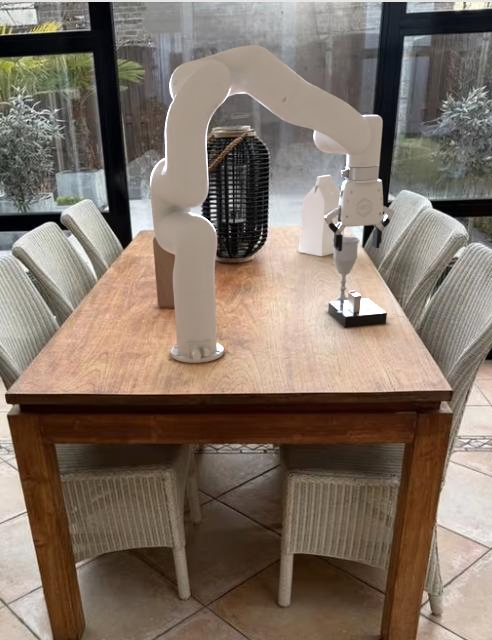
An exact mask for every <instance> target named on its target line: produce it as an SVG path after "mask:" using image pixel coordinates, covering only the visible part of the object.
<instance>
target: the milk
mask: <svg viewBox="0 0 492 640" xmlns="http://www.w3.org/2000/svg"><path fill="white" fill-rule="evenodd" d="M340 193H341V190H340V189H339V188H338V187H337V185H336V184H335V183H334V179H333V176H332V174H325V175H320V176H319V175H318V176H317V177H316V181H315V185H313V187H312V188H311V189H310V191H308V193H306V195H304V197H303V200H302V205H301V207H302V208H301V217H300V218H301V219H300V229H299V240H298V250H297V251H298V253H301V254H308V255H312V256H316V257H317V256H318V257H324V256H329V255H333V254H334V242H333V239H334V233H333V231H332V230H331V229H330V228H329V227H328V225H327V223H326V221H325V218H324V217H325V215H327V214H329V213H330V212H332V211H333V210H335V209H336V208H338V206H339V198H340ZM332 221H333V224H334V225H335V226H336V225H337V223H338V215H337V216H336V217H334V218H333V219H332ZM341 234H342V235H343V237H345V236H344V235H345V229H344V230H343V231H342V232H341Z"/></svg>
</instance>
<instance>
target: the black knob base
mask: <svg viewBox="0 0 492 640" xmlns="http://www.w3.org/2000/svg"><path fill="white" fill-rule="evenodd" d="M347 306H348V300H343V301H335V300H334V301H328V309H327V312H328V314H329V315H330V316H331V317H332V318H333V319H335V320H336V321H337V322H338V323H339V325H341V326H342V327H343V328H344V329H348V328H349V329H350V328H358V327H359V328H360V327H371V326H380V325H382V326H383V325H386V324H387V317H388V313H387V312H386V311H385V310H384V309H382V308H381V307H380V306H379V305H377V304H376V303H375V302H373V301H372V300H370V299H369V298H368V297H367V298H361V305H360V313H354V314H353V313H352V312H351V311H350V310H348V309H347Z"/></svg>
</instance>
